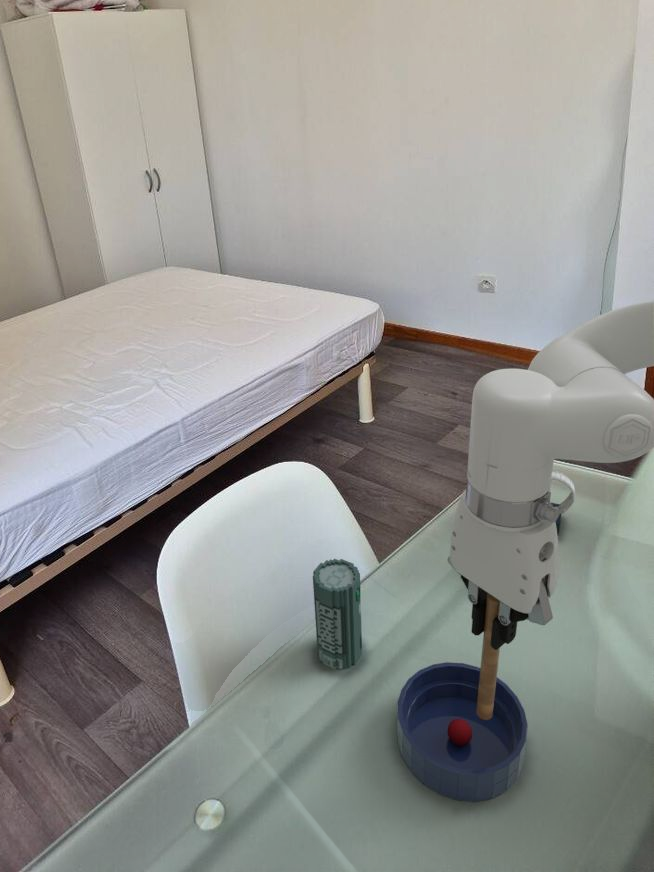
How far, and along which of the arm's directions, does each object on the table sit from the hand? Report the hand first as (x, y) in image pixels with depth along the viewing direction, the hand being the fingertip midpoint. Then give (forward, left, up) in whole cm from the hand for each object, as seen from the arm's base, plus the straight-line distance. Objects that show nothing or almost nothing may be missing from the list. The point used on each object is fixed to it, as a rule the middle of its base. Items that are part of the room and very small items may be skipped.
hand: (492, 634), depth 74 cm
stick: (0, 0, -13) cm, 13 cm away
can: (+23, +2, -22) cm, 32 cm away
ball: (+3, 0, -21) cm, 21 cm away
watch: (+20, -44, -22) cm, 53 cm away
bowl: (+3, 0, -22) cm, 22 cm away
